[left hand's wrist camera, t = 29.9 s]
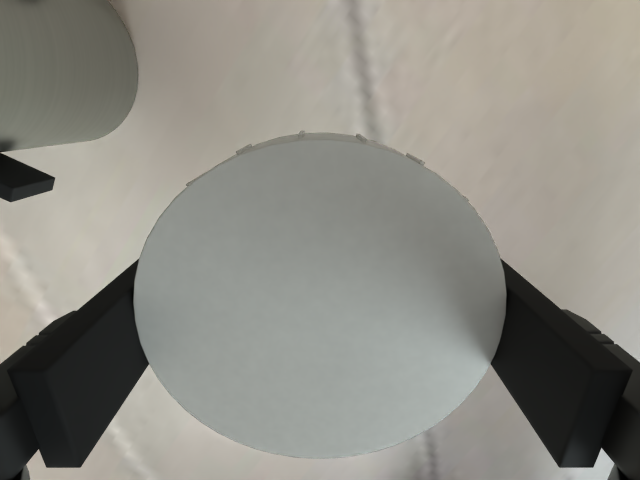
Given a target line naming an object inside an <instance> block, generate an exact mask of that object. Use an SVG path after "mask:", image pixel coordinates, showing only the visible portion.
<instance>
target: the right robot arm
mask: <svg viewBox="0 0 640 480" xmlns="http://www.w3.org/2000/svg"><path fill="white" fill-rule="evenodd" d="M54 181H55V177H52V176H50V175H48V174H46V173H43V172H41V171H39V170H37V169H35V168H32V167H30V166H28V165H26V164H24V163H21V162H19V161H17V160H15V159H12V158H10V157H8V156H6V155H4V154H1V153H0V198H2V199H4V200H7V201H9V202H13V201H17V200H20V199H23V198H27V197H30V196H34V195H37V194H40V193H44V192H47V191H51V190H52V189H53V185H54Z"/></svg>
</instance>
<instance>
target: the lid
mask: <svg viewBox="0 0 640 480" xmlns="http://www.w3.org/2000/svg"><path fill="white" fill-rule="evenodd" d="M236 153H237V154H236V155H234V156H232V157H231V158H229V159H227V160H225V161H224V162H222V163H220V164H218V165H217V166H215V167H214V168H212V169H211V170H209V171H208V172H206V173H204V174H202V175H200V176H199V177H197V178H195V179H194V180H192V181H190V182H188V183H187V184H186V186H187V187H186V188H185V189H184V190H183V191H182V192H181V193H180V194H179V195H178V196H176V197H175V199H174V200H173V201H172V202H171V203H170V205H169V206H168V207H167V208H166V210H165V211H164V212H163V213H162V214H161V216H160V217H159V219H158V220H157V222H156V224H155V225H154V227H153V229H152V231H151V232H150V234H149V236H148V237H147V240H146V242H145V245H144V248H143V250H142V253H141V255H140V258H139V262H138V266H137V271H136V276H135V280H134V298H133V305H134V315H135V322H136V327H137V331H138V335H139V339H140V343H141V346H142V348H143V351H144V353H145V355H146V358H147V360H148V362H149V364H150V366H151V368H152V369H153V371H154V373H155V374H156V376H157V378H158V379H159V381H160V382H161V383H162V385H163V386H164V387H165V388H166V390H167V391H168V392H169V394H170V395H171V396H172V397H173V398H174V399H175V400H176V401H177V402H178V403H179V404H180V405H181V406H182V407H183V408H184V409H185V410H186V411H187V412H189V413H190V414H191V415H192V416H194V417H195V418H196V419H198V420H199V421H200V422H201V423H203V424H205V425H206V426H208V427H209V428H211V429H213V430H214V431H216V432H217V433H219V434H221V435H223V436H225V437H227V438H229V439H231V440H233V441H235V442H238V443H241V444H243V445H246V446H249V447H251V448H254V449H257V450H261V451H265V452H269V453H272V454H277V455H283V456H289V457H297V458H311V459H325V458H342V457H350V456H357V455H362V454H367V453H371V452H375V451H379V450H382V449H385V448H388V447H392V446H394V445H397V444H399V443H401V442H404V441H406V440H409V439H411V438H413V437H415V436H417V435H418V434H420V433H422V432H424V431H426V430H427V429H429V428H431V427H432V426H434V425H435V424H436V423H438V422H439V421H441V420H442V419H444V418H445V417H446V416H448V415H449V414H450V413H451V412H452V411H453V410H454V409H456V408H457V407H458V406H459V405H460V404H461V403H462V402H463V401H464V400H465V399H466V398H467V396H468V395H469V394H470V393H471V392H472V391H473V390H474V389H475V387H476V386H477V384H478V383H479V381H480V380H481V379H482V377H483V376H484V374H485V373H486V371H487V369H488V367H489V365H490V363H491V361H492V359H493V358H494V356H495V353H496V350H497V347H498V345H499V342H500V338H501V334H502V330H503V325H504V320H505V316H506V296H507V293H506V285H505V276H504V270H503V267H502V263H501V260H500V256H499V252H498V249H497V247H496V245H495V243H494V241H493V239H492V236H491V234H490V232H489V230H488V228H487V227H486V225H485V224H484V222H483V221H482V219H481V218H480V216H479V215H478V213H477V212H476V210H475V209H474V208H473V207H472V206H471V205H470V203H469V202H468V201H469V200H468V199H467V198H466V197H464V196H462V195H461V194H460V193H459V192H458V191H457V190H456V189H455V188H454V187H453V186H451V185H450V184H449V183H448V182H446V181H445V180H444V179H443V178H441V177H440V176H439V175H438V174H436V173H434V172H433V171H431V170H429V169H428V168H426V167H424V166H422V165H424V164H425V162H423V161H421V160H419V159H418V158H416V157H414V156H412V155H410V154H408V153H407V155H406V156H405V155H403V154H402V153H400V152H398V151H397V150H395V149H392V148H390V147H387V146H385V145H382V144H380V143H377V142H375V141H372V140H368V139H366V138H364V137H363V136H361V135H360V134H356V136H352V135H344V134H335V133H305V131H301V132H300V133H299V134H296V135H290V136H284V137H279V138H276V139H272V140H269V141H266V142H263V143H260V144H257V145H255V146H252V145H251V144H249V145H247V146H245V147H244V148H242V149H240V150H238V151H236Z"/></svg>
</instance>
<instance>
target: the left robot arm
mask: <svg viewBox="0 0 640 480" xmlns="http://www.w3.org/2000/svg"><path fill="white" fill-rule="evenodd" d="M500 260H501V263H502V267H503V270H504V276H505V285H506V293H507V296H506V316H505V320H504V325H503V330H502V334H501V338H500V342H499V345H498V347H497V350H496V353H495V356H494V358H493V359H492V361H491V363H490V364H491V365H492V367H493V368H494V370H495V371H496V373H497V374H498V376H499V377H500V379H501V380H502V382H503V383H504V385H505V386H506V388H507V389H508V391H509V392H510V394H511V395H512V397H513V398H514V400H515V401H516V403H517V404H518V406H519V407H520V409H521V410H522V412H523V413H524V415H525V416H526V418H527V419H528V421H529V422H530V424H531V426H532V427H533V429H534V430H535V432H536V433H537V435H538V436H539V438H540V439H541V441H542V442H543V444H544V445H545V447H546V448H547V450H548V451H549V453H550V454H551V456H552V457H553V459H554V460H555V462H556V463H557V465H558V466H559V467H594V464H595V462H596V459H597V457H598V455H599V452H600V450H601V447H602V449H603V450H604V451H605V452H606V453H607V455H608V456H609V457H610V458H611V460H612V461H613V462H614V463H615V464H614V466H613V468H612V471H611V473H610V475H609V477H608V480H640V362H638V361H637V360H636V359H635V358H634V357H632V356H631V355H630V354H629V353H627V352H626V351H625V350H624V349H622V348H621V347H620V346H619V345H617V344H614V341H612V340H611V339H610V338H609V337H607V336H606V335H605V334H601V331H600V330H599V329H597V328H596V327H595V326H594V325H592V324H591V323H590V322H589V321H587V320H586V319H584V318H582V317H580V316H578V315H576V314H574V313H572V312H570V311H568V310H561V309H560V308H559V307H558V306H556V305H555V304H554V303H553V302H552V301H550V300H549V299H548V298H547V297H546V296H544V295H543V294H542V293H541V292H540V291H539V290H537V289H536V288H535V287H534V286H533V285H531V284H530V283H529V282H528V281H527V280H525V279H524V278H523V277H522V276H521V275H520V274H518V273H517V272H516V271H515V270H514V269H512V268H511V267H510V266H509V265H508V264H506V263H505V262H504V261H503V260H502V259H501V258H500ZM138 262H139V259H138V260H137V261H136V262H134V263H133V264H132V265H131V266H130V267H129V268H127V269H126V270H125V271H124V272H123V273H121V274H120V275H119V276H118V277H117V278H115V279H114V280H113V281H112V282H111V283H110V284H108V285H107V286H106V287H105V288H104V289H102V290H101V291H100V292H99V293H98V294H96V295H95V296H94V297H93V298H92V299H91V300H89V301H88V302H87V303H86V304H85V305H83V306H82V307H81V308H80V309H79V310H77V311H72V312H70V313H68V314H66V315H64V316H62V317H61V318H59V319H57V320H55V321H53V322H52V323H51V324H49V325H48V326H47V327H46V328H44V329H43V330H42V331H41V332H40V333H39V335H36V336H35V337H33V338H32V339H31V340H30V341H28V342H27V343H26V346H22V347H21V348H20V349H18V350H17V351H16V352H15V353H14V354H12V355H11V356H10V357H9V358H7V359H6V360H5V361H4V362H2V363H1V364H0V480H30V476H29V471H28V468H27V466H26V464H27V463H28V461H29V460H30V459H31V458H32V456H33V455H34V454H35V453H36V452H37V450H38V449H39V450H40V453H41V455H42V458H43V460H44V463H45V465H46V468H80V467H81V466H82V464H83V463H84V461H85V460H86V458H87V457H88V455H89V454H90V452H91V451H92V449H93V448H94V446H95V445H96V443H97V442H98V440H99V439H100V437H101V436H102V434H103V433H104V431H105V430H106V428H107V427H108V425H109V424H110V422H111V421H112V419H113V418H114V416H115V415H116V413H117V412H118V410H119V409H120V407H121V406H122V404H123V403H124V401H125V399H126V398H127V396H128V395H129V393H130V392H131V390H132V389H133V387H134V386H135V384H136V383H137V381H138V380H139V378H140V377H141V375H142V374H143V372H144V371H145V369H146V368H147V366H148V365H149V362H148V360H147V358H146V355H145V353H144V351H143V348H142V346H141V343H140V339H139V335H138V331H137V327H136V322H135V315H134V305H133V298H134V280H135V276H136V271H137V266H138Z"/></svg>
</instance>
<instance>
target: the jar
mask: <svg viewBox="0 0 640 480" xmlns="http://www.w3.org/2000/svg"><path fill="white" fill-rule="evenodd" d="M137 85H138V66H137V59H136V54H135V51H134V47H133V44H132V41H131V38H130V36H129V33H128V31H127V29H126V27H125V25H124V23H123V21H122V20H121V18H120V17H119V15H118V14H117V12H116V11H115V9H114V8H113V7H112V6H111V4H110V3H109V2H108V1H107V0H0V152H6V151H13V150H21V149H29V148H37V147H45V146H53V145H60V144H68V143H76V142H84V141H91V140H94V139H98V138H100V137H103V136H105V135H107V134H109V133H110V132H112V131H113V130H115V129H116V128H117V127H118V126H119V125H120V124H121V123H122V122H123V120H124V119H125V118H126V117H127V115H128V113H129V111H130V110H131V108H132V105H133V103H134V100H135V96H136V92H137Z"/></svg>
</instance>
